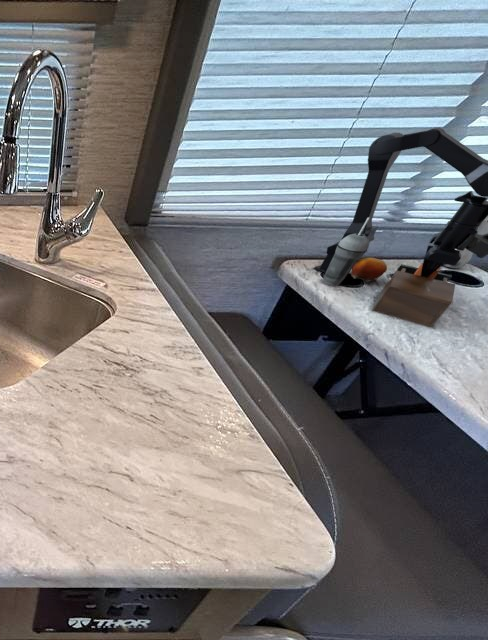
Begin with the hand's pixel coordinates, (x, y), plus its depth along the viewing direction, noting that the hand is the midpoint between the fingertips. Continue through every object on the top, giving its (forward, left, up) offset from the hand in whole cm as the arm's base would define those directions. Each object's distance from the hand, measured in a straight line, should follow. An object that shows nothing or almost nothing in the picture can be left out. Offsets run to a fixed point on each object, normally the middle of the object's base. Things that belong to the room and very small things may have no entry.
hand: (422, 276), depth 112 cm
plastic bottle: (+35, +7, -6) cm, 36 cm away
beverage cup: (-13, +14, -6) cm, 20 cm away
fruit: (-1, +12, -6) cm, 14 cm away
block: (0, 0, -1) cm, 1 cm away
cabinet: (-10, -5, -6) cm, 13 cm away
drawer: (+1, 0, -5) cm, 5 cm away
